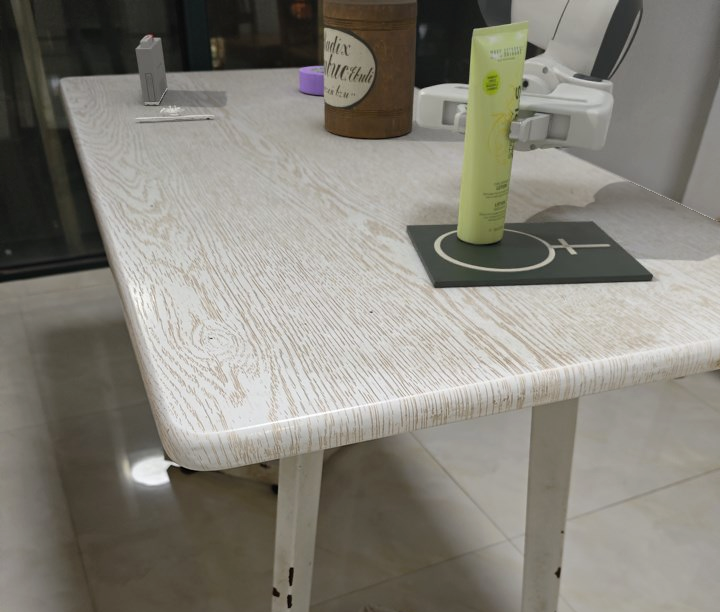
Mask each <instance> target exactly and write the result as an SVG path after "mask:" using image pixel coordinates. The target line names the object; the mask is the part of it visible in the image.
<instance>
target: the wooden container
mask: <svg viewBox="0 0 720 612" xmlns="http://www.w3.org/2000/svg"><path fill="white" fill-rule="evenodd" d="M322 15H323V16H322V18H323V24H324V25H323V66H324V95H323V102H324V107H323V108H324V109H323V113H324V114H323V115H324V128H325V130H326V131H327V132H328V133H329V132H330V133H331V134H334V135H337V136H340V137H347V138H357V139H358V138H359V139H390V138H395V137H400V136H404V135H406V134H409V133H410V132H411V131H412V130H413V119H414V118H413V117H414V114H413V113H414V99H415V98H414V97H415V81H416V80H415V79H416V52H417V51H416V49H417V47H416V46H417V23H418V21H417V19H418V18H417V17H418V0H322Z"/></svg>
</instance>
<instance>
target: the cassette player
mask: <svg viewBox="0 0 720 612" xmlns="http://www.w3.org/2000/svg"><path fill="white" fill-rule="evenodd" d="M135 54H136V61H137V62H136V63H137V67H138V69H137V70H138V74H139V75H138V76H139V80H140V88H141V93H142V94H141V95H142V101H143V103H144V102H159V101H160V99H161V97H162V95H163V93H164V92H165V90H166V88H168V81H167V74H166V67H165V65H166V64H165V59H164V51H163V44H162V38H161V37H154V35H153V34H146V35H145V36H144V37H143V38H142V39H141V40H140V41H139V45H138V46H137V47H135Z"/></svg>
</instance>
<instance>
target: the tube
mask: <svg viewBox="0 0 720 612" xmlns="http://www.w3.org/2000/svg"><path fill="white" fill-rule="evenodd" d="M528 30H529V21H524V22H519V23H513V24H507V25H501V26H494V27H489V26H487V27H480V28H474V29H473V31H472V37H471V46H470V47H471V48H470V63H469V79H468V85H469V90H468V104H467V118H466V130H465V135H464V144H463V158H462V168H461V169H462V171H461V182H460V193H459V206H458V215H457V217H458V218H457V224H458V227H457V236H458V237H459V238H460V239H461V240H463V241H465V242H468V243H472V244H491V243H495V242H497V241H499V240H501V239H502V237H503V231H504V224H505V223H506V215H507V207H508V200H509V199H508V198H509V191H510V183H511V177H512V176H511V174H512V167H513V159H514V151H515V150H514V144H515V141H509V134H510V133H511V130H510V126H511V122H512V121H513V120H515V119H516V118H518V111H519V103H520V95H521V87H522V79H523V71H524V63H525V60H526V54H527V47H528V41H527V39H528Z"/></svg>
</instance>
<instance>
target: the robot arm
mask: <svg viewBox="0 0 720 612" xmlns="http://www.w3.org/2000/svg"><path fill="white" fill-rule="evenodd" d="M476 1H477V4H478V8H479V10H480V14H481V15H482V18H483V20H484V23H485V24H486V26H487V27H494V26H501V25H507V24H513V23H519V22H524V21H529V30H528V39H527V43H530V44H531V45H534V46H536V47H537V48H540V49H542V50H544V52H543V53H540V54H537V55H536V56H534V57H531V58H528V59H525V63H524V71H523V79H522V87H521V95H520V103H519V111H518V118H516V119H515V120H513V121H512V122H511V126H510V130H511V133H510V134H509V141H515V144H514V151H515V152H531V151H535V150H537V149H540V150H546V149H547V150H548V149H554V148H555V149H556V148H563V149H565V148H566V149H567V148H568V149H578V150H583V151H584V150H585V151H589V152H590V151H592V152H595V151H596V152H597V151H601V150H602V149H603V148H604V147H605V146H606V141H607V136H608V132H609V127H610V124H611V119H612V114H613V108H614V104H615V99H614V96H613V91H614V83H613V82H612V81H610V80H611V79H612V78H613V77H614V76H615V74H616V72H617V71H618V69H619V68H620V66H621V64H622V63H623V61H624V60H625V58H626V56H627V54H628V52H629V50H630V49H631V47H632V44H633V42H634V40H635V38H636V35H637V33H638V31H639V29H640V25H641V22H642V18H643V14H644V0H476ZM468 90H469V84H468V83H467V84H466V83H442V84H436V85H431V86H428V87H424V88H423V87H422V88H421V89H420V90H419V91H418V93H417V98H416V105H415V106H416V108H415V120H416V124H417V125H418V126H419V127H421V128H424V129H432V130H436V131H437V130H438V131H445V132H453V134H455V135H456V134H458V135H464V136H465V130H466V118H467V104H468Z"/></svg>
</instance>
